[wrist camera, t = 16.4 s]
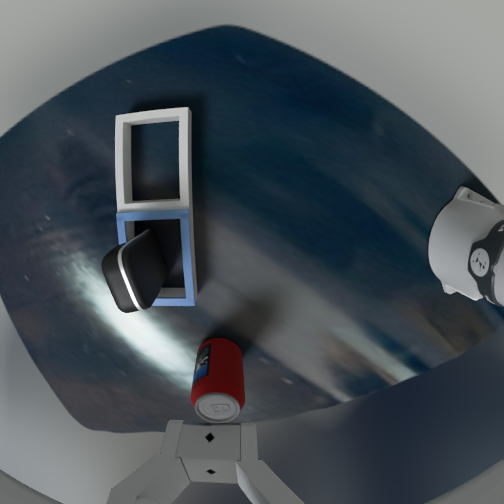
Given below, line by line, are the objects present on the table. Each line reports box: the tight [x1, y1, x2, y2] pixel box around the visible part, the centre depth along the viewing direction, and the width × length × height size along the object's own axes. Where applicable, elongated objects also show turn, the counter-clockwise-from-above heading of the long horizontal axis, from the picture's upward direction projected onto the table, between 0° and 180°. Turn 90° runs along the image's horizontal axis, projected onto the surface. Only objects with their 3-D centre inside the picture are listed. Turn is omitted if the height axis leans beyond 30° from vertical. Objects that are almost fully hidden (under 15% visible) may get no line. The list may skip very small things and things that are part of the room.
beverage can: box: [191, 338, 245, 423], centre depth 35 cm, size 7×7×12 cm
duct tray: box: [115, 107, 198, 306], centre depth 33 cm, size 9×24×4 cm, turn 0°
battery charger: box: [102, 229, 169, 313], centre depth 31 cm, size 7×4×11 cm, turn 15°
